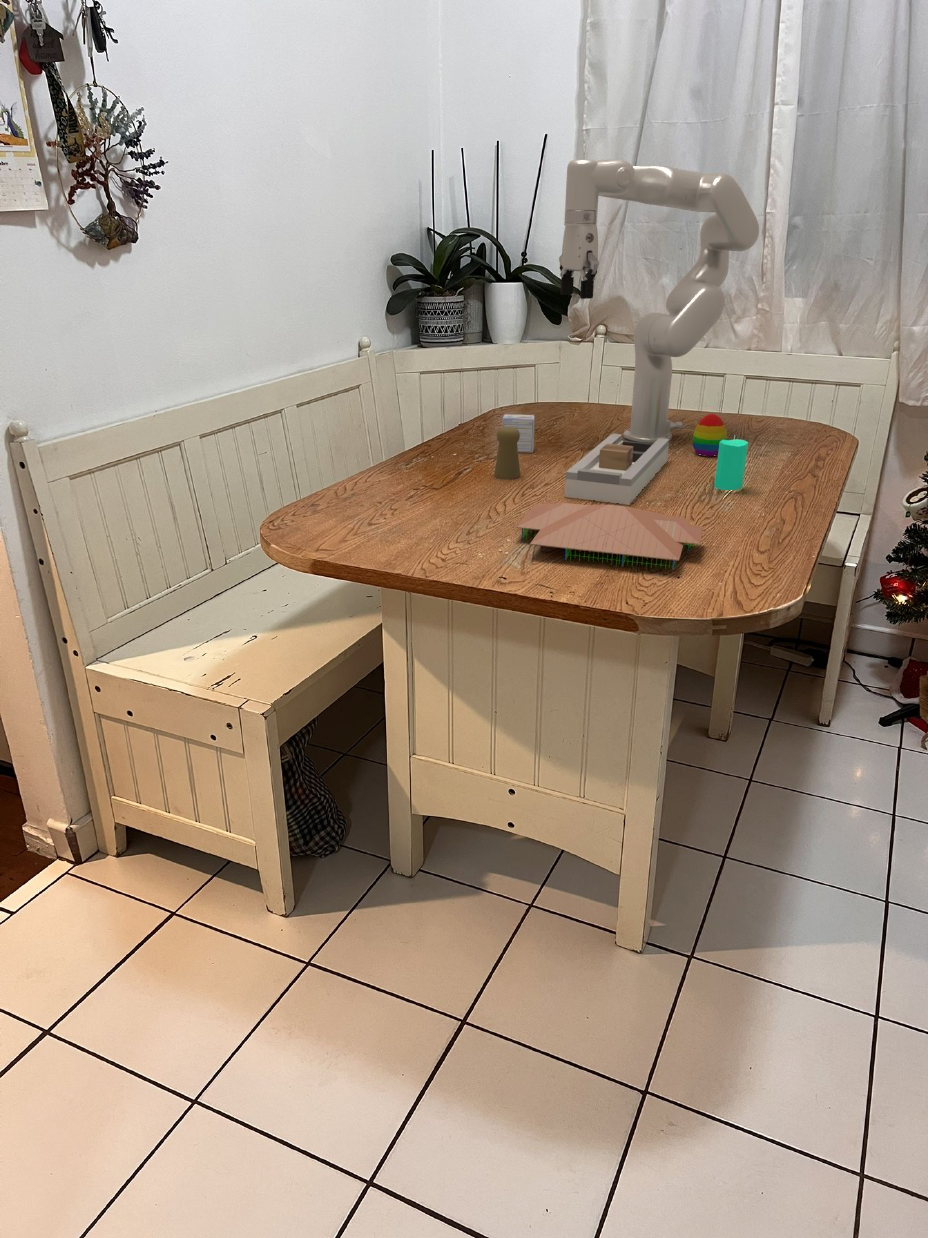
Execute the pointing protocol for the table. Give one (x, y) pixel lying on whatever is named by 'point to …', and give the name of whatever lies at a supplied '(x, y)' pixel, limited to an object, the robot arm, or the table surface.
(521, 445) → the medicine box
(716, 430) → the decorative egg
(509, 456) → the olive pawn
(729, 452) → the candle
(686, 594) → the table surface
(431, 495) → the table surface
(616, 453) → the walnut block
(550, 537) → the house
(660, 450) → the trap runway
